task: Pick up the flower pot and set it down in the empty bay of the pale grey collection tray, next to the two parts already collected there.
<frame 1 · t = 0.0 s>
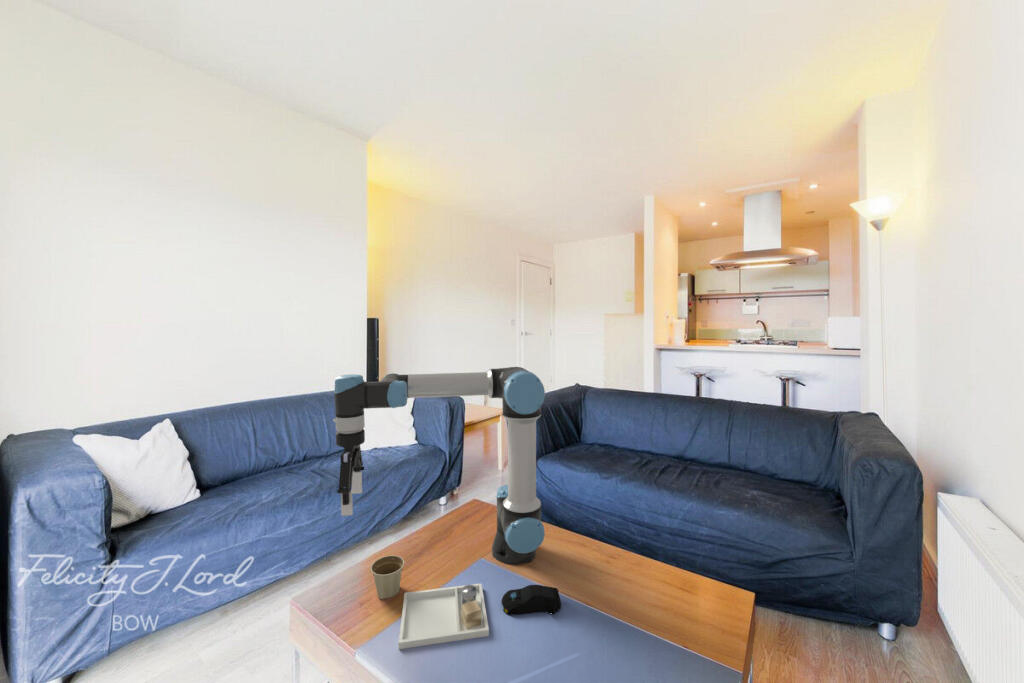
hand: (352, 503, 114), 28 cm above the table, fingers open, 13 cm apart
metal part: (469, 603, 113), point 1 cm above the table, touching tray
toy car: (531, 607, 112), on the table
flower pot: (388, 593, 118), on the table
tray: (444, 617, 108), on the table
beech part: (471, 621, 106), point 1 cm above the table, touching tray
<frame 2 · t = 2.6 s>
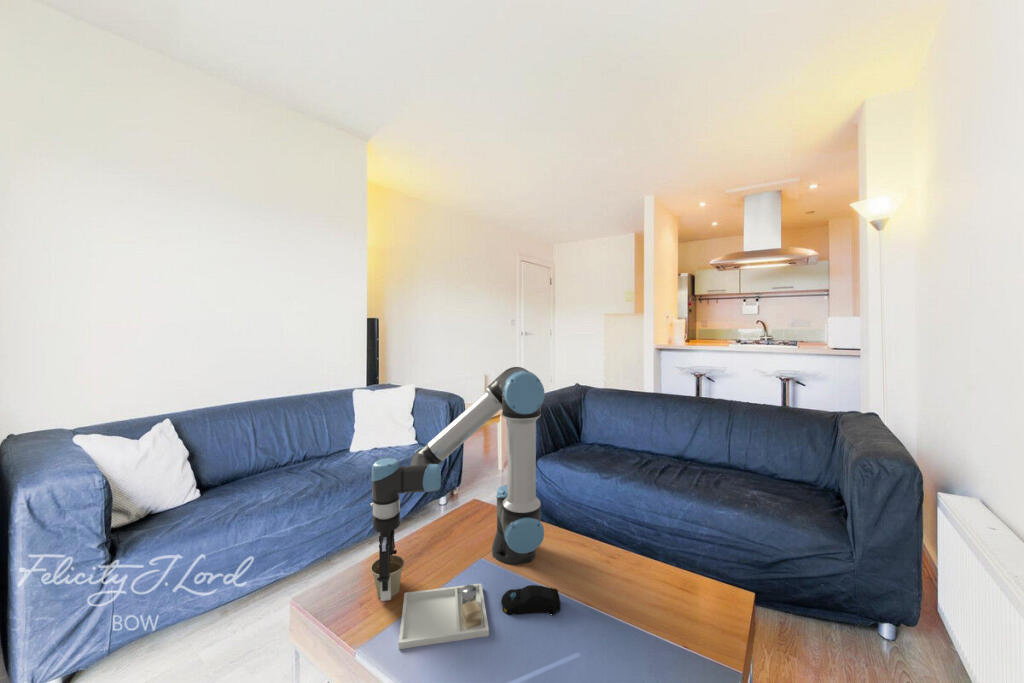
hand: (388, 587, 118), 2 cm above the table, fingers closed on flower pot, 9 cm apart
flower pot: (388, 593, 118), on the table, touching gripper
everything else where it was.
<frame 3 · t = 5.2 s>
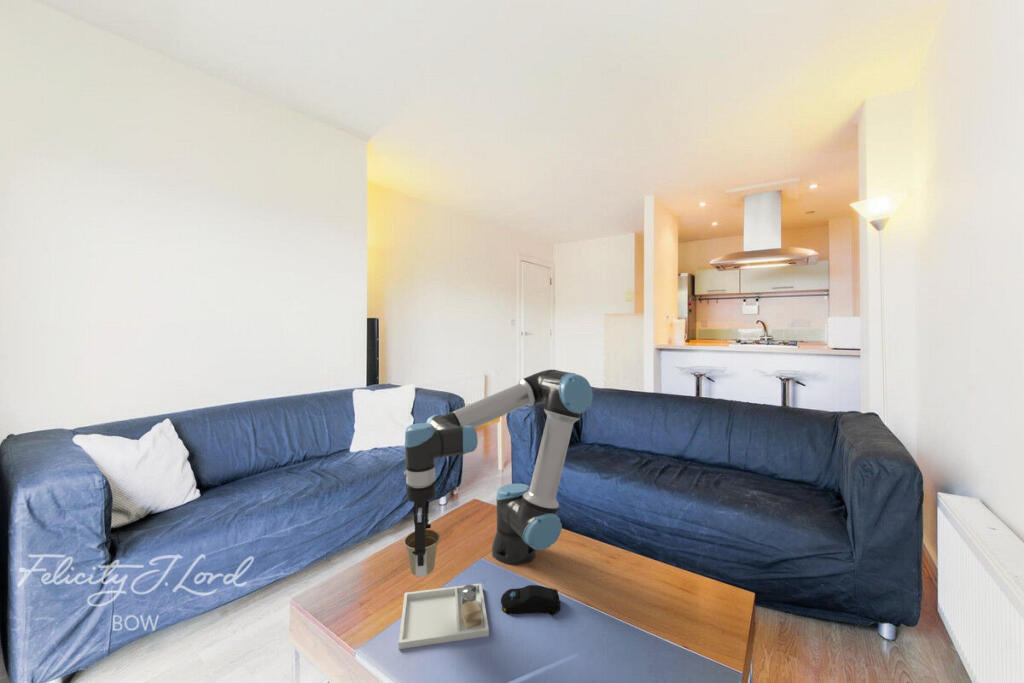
hand: (422, 563, 108), 14 cm above the table, fingers closed on flower pot, 9 cm apart
flower pot: (422, 570, 109), point 13 cm above the table, touching gripper
everything else where it was.
when the fingers open (2 cm above the table, at t = 7.7 s): flower pot stays where it is, resting on tray.
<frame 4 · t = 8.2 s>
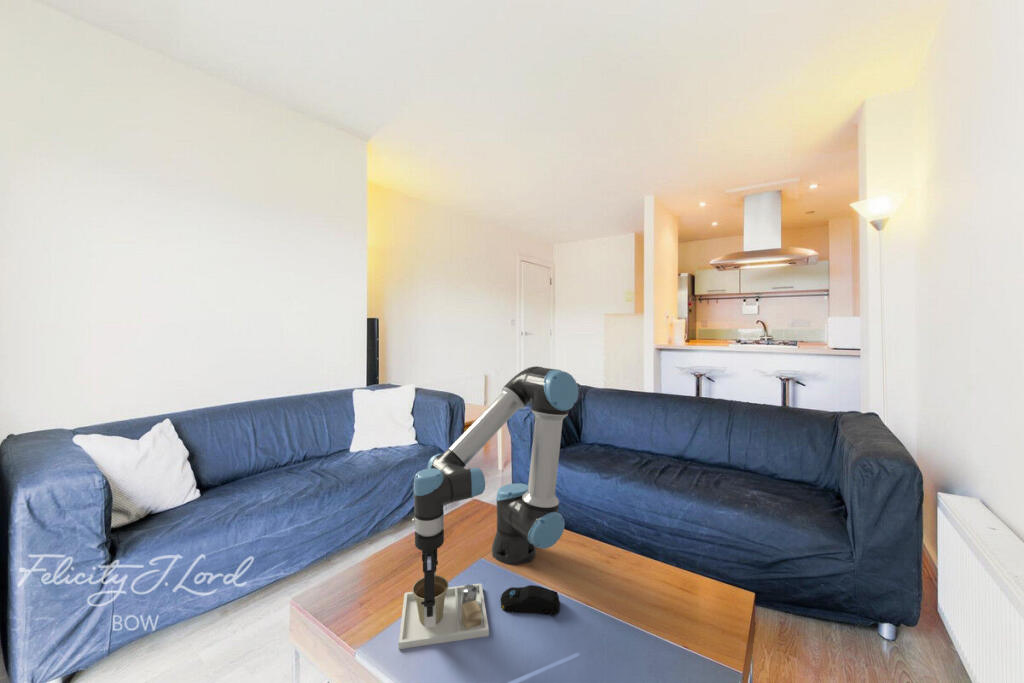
hand: (430, 606, 107), 4 cm above the table, fingers open, 13 cm apart
flower pot: (431, 618, 107), resting on tray
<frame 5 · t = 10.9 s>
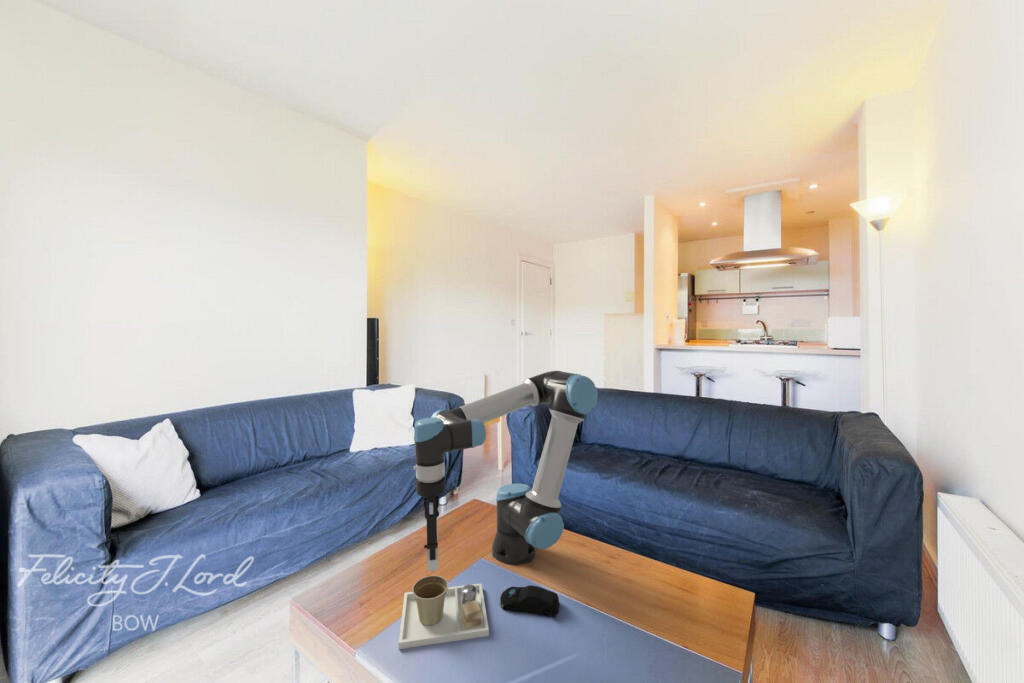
hand: (433, 554, 108), 17 cm above the table, fingers open, 13 cm apart
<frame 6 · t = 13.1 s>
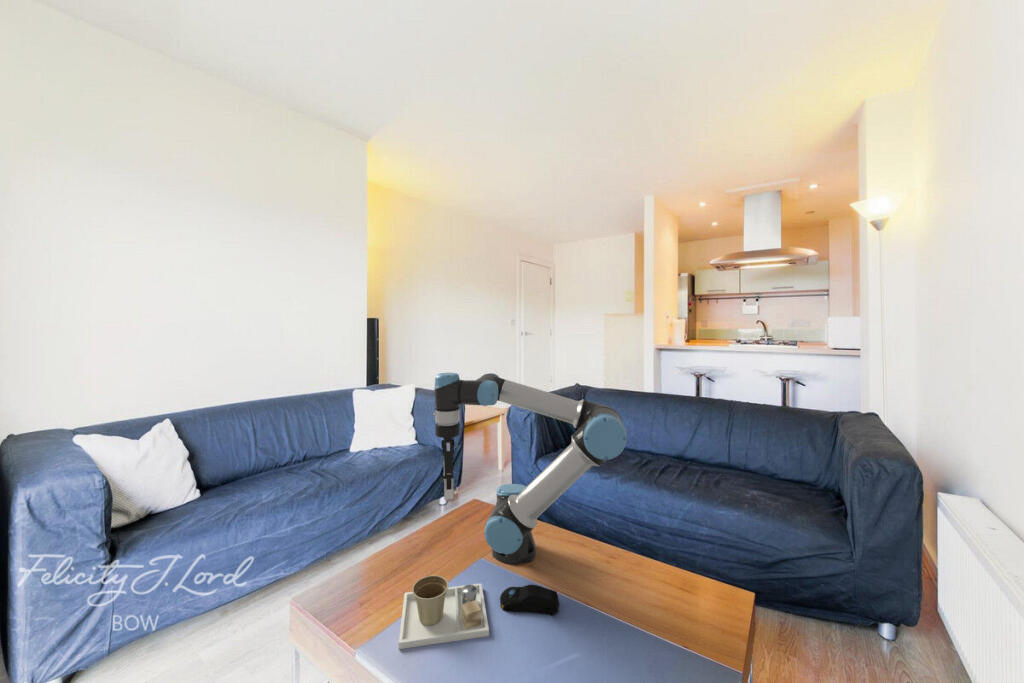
hand: (448, 489, 126), 27 cm above the table, fingers open, 13 cm apart
nothing on the table moved.
at the end: flower pot inside the target area on the tray (0.0 cm from its centre), point 0.4 cm above the tray's base; flower pot tilted 0°; the gripper is holding nothing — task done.
